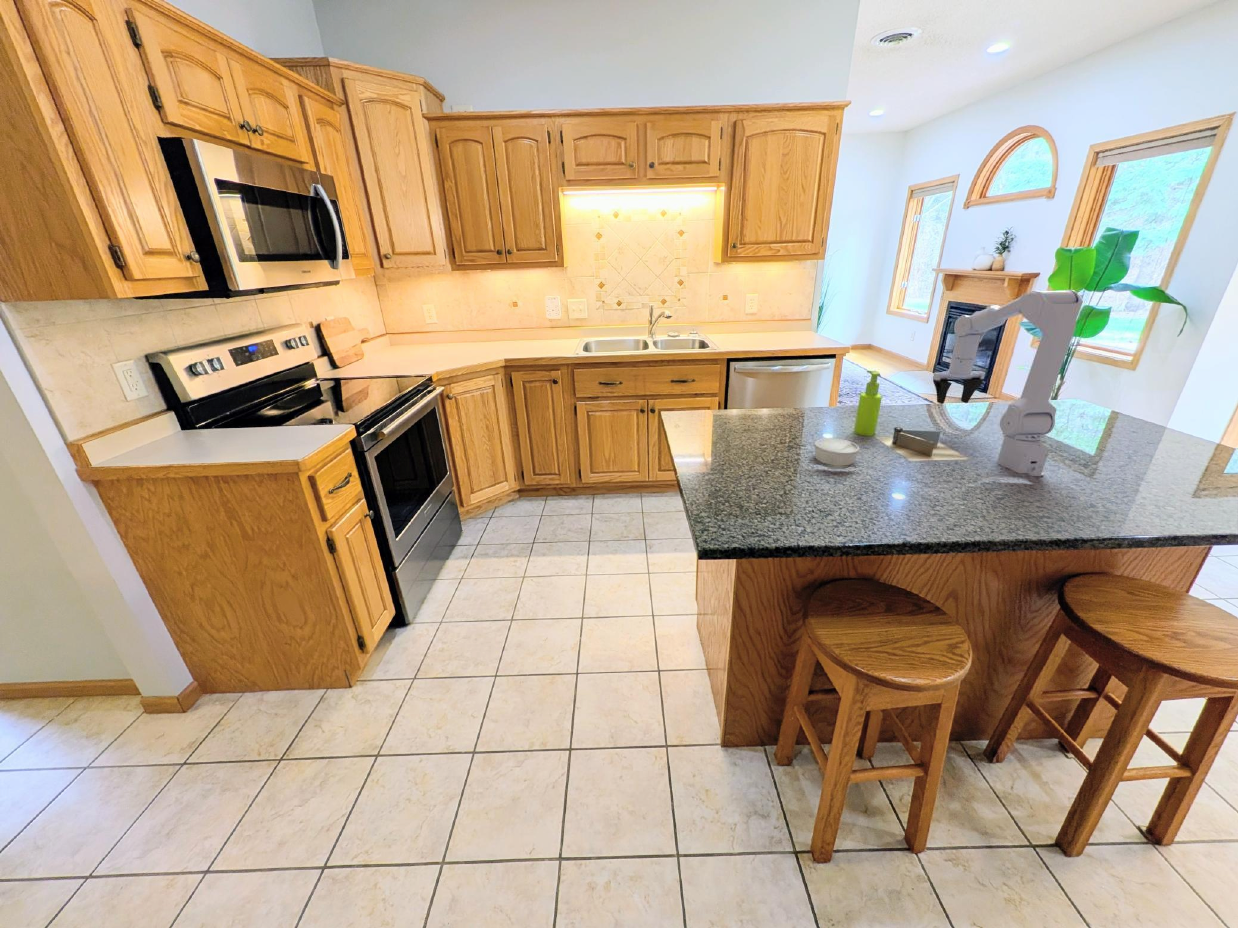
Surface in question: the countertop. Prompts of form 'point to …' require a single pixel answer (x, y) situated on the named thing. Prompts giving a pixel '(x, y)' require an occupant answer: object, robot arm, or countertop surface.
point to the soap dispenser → (868, 407)
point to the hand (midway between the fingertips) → (952, 402)
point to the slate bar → (924, 434)
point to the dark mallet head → (912, 443)
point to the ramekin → (835, 452)
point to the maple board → (938, 454)
